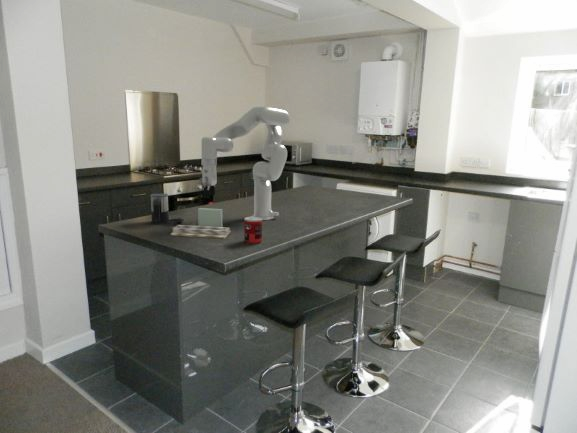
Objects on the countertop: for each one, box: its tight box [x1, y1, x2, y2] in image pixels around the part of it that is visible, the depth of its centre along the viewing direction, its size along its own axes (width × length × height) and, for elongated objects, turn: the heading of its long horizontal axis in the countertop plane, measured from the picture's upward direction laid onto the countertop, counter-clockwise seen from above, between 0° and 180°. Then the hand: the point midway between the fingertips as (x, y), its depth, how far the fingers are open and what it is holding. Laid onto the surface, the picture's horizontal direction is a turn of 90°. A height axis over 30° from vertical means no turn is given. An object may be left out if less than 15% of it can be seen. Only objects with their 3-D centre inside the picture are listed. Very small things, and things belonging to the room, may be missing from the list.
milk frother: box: [150, 193, 184, 225], centre depth 219 cm, size 14×16×15 cm
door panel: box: [197, 207, 224, 227], centre depth 215 cm, size 12×3×9 cm, turn 84°
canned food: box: [243, 216, 263, 245], centre depth 189 cm, size 8×8×11 cm
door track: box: [170, 224, 232, 239], centre depth 201 cm, size 26×12×3 cm, turn 84°
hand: (209, 196), depth 212 cm, fingers open, 9 cm apart
